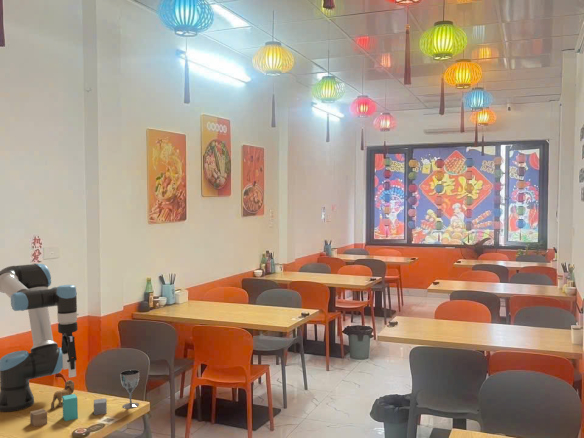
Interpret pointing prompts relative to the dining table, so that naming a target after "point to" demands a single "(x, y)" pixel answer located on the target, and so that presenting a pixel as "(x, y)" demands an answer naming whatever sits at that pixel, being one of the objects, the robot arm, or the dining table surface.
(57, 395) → the lion figurine
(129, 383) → the wine glass
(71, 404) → the teal block
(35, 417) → the walnut block
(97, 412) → the grey block
